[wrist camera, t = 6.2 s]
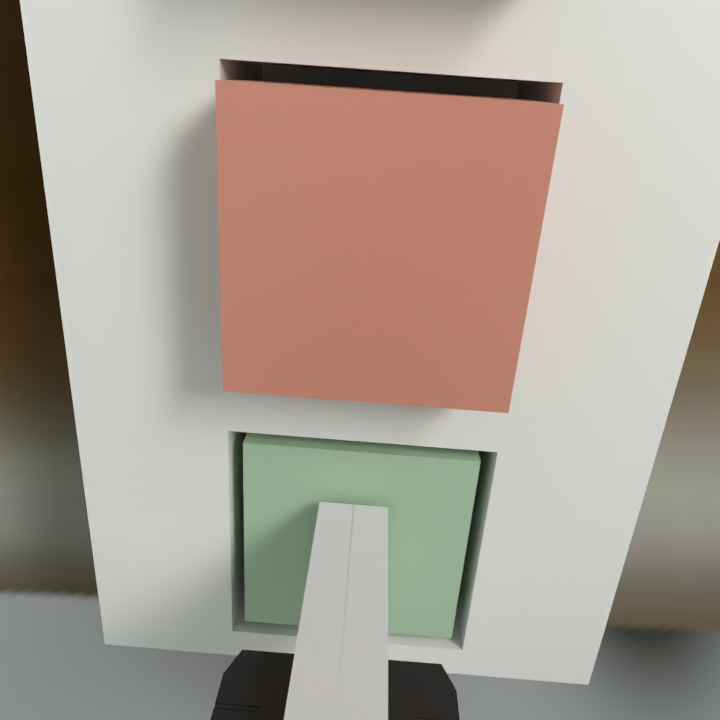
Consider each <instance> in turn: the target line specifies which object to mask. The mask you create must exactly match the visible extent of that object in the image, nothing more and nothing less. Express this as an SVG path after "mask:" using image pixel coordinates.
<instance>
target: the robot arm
mask: <svg viewBox="0 0 720 720" xmlns="http://www.w3.org/2000/svg"><path fill="white" fill-rule="evenodd" d="M211 720H459V712H458V702H457V693H456V690H455V688H454V686H453V684H452V682H451V680H450V679H449V677H448V675H447V673H446V671H445V669H444V668H443V666H442V664H435V663H423V662H410V661H398V660H388V507H381V506H368V505H355V504H343V503H330V502H319V508H318V514H317V520H316V526H315V532H314V538H313V545H312V551H311V557H310V563H309V569H308V575H307V581H306V587H305V593H304V599H303V605H302V611H301V617H300V623H299V630H298V636H297V642H296V648H295V654H291V653H279V652H267V651H254V650H241V652H240V653H239V654H238V656H237V657H236V658H235V660H234V661H233V662H232V663H231V665H230V666H229V667H228V669H227V670H226V671H225V672H224V674H223V677H222V681H221V685H220V688H219V692H218V696H217V699H216V703H215V708H214V710H213V713H212V717H211Z"/></svg>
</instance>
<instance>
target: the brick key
mask: <svg viewBox="0 0 720 720" xmlns="http://www.w3.org/2000/svg"><path fill="white" fill-rule="evenodd" d="M215 93H216V133H217V173H218V213H219V254H220V294H221V334H222V374H223V391H229V392H242V393H254V394H267V395H280V396H293V397H306V398H319V399H332V400H345V401H358V402H370V403H383V404H396V405H409V406H422V407H435V408H448V409H461V410H474V411H486V412H499V413H509V408H510V402H511V397H512V391H513V385H514V380H515V374H516V369H517V363H518V358H519V352H520V346H521V341H522V335H523V330H524V324H525V319H526V313H527V308H528V302H529V296H530V291H531V285H532V280H533V274H534V269H535V263H536V257H537V252H538V246H539V241H540V235H541V230H542V224H543V218H544V213H545V207H546V202H547V196H548V191H549V185H550V180H551V174H552V168H553V163H554V157H555V152H556V146H557V141H558V135H559V129H560V124H561V118H562V113H563V107H564V104H557V103H549V102H542V101H534V100H527V99H516V98H502V97H487V96H473V95H459V94H445V93H431V92H417V91H402V90H388V89H374V88H360V87H346V86H332V85H317V84H303V83H289V82H275V81H261V80H215Z"/></svg>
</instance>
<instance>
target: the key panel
mask: <svg viewBox="0 0 720 720" xmlns="http://www.w3.org/2000/svg"><path fill="white" fill-rule="evenodd" d="M20 7H21V14H22V22H23V29H24V37H25V44H26V52H27V60H28V67H29V75H30V82H31V90H32V97H33V105H34V113H35V120H36V128H37V135H38V143H39V150H40V158H41V166H42V173H43V181H44V188H45V196H46V203H47V211H48V219H49V226H50V234H51V241H52V249H53V256H54V264H55V272H56V279H57V287H58V294H59V302H60V309H61V317H62V325H63V332H64V340H65V347H66V355H67V362H68V370H69V378H70V385H71V393H72V400H73V408H74V415H75V423H76V430H77V438H78V446H79V453H80V461H81V468H82V476H83V483H84V491H85V499H86V506H87V514H88V521H89V529H90V536H91V544H92V552H93V559H94V567H95V574H96V582H97V589H98V597H99V605H100V611H101V620H102V626H103V634H104V642H105V645H118V646H129V647H142V648H154V649H166V650H177V651H191V652H201V653H213V654H225V655H237V656H238V654H239V653H240V652H241V650H254V651H267V652H279V653H291V654H295V648H296V642H297V636H298V630H299V625H287V624H275V623H263V622H251V621H245V585H244V496H243V442H244V439H245V437H246V434H247V433H260V434H273V435H285V436H298V437H311V438H324V439H336V440H349V441H362V442H375V443H387V444H400V445H413V446H426V447H438V448H451V449H464V450H477V451H478V452H479V457H480V461H481V463H480V469H479V475H478V481H477V487H476V493H475V499H474V505H473V511H472V517H471V523H470V530H469V536H468V542H467V548H466V554H465V560H464V566H463V572H462V578H461V584H460V590H459V596H458V602H457V608H456V614H455V620H454V626H453V632H452V638H444V637H432V636H420V635H408V634H396V633H388V660H398V661H410V662H423V663H435V664H442V666H443V668H444V669H445V671H446V673H453V674H465V675H477V676H489V677H501V678H513V679H524V680H536V681H549V682H561V683H572V684H585V685H588V684H589V681H590V678H591V674H592V671H593V668H594V664H595V661H596V658H597V654H598V651H599V647H600V644H601V640H602V637H603V634H604V630H605V627H606V624H607V620H608V617H609V613H610V610H611V607H612V603H613V600H614V596H615V593H616V590H617V586H618V583H619V579H620V576H621V573H622V569H623V566H624V562H625V559H626V556H627V552H628V549H629V545H630V542H631V539H632V535H633V532H634V529H635V525H636V522H637V518H638V515H639V512H640V508H641V505H642V501H643V498H644V495H645V491H646V488H647V484H648V481H649V478H650V474H651V471H652V467H653V464H654V461H655V457H656V454H657V450H658V447H659V444H660V440H661V437H662V433H663V430H664V427H665V423H666V420H667V417H668V413H669V410H670V406H671V403H672V400H673V396H674V393H675V389H676V386H677V383H678V379H679V376H680V372H681V369H682V366H683V362H684V359H685V355H686V352H687V349H688V345H689V342H690V338H691V335H692V332H693V328H694V325H695V321H696V318H697V315H698V311H699V308H700V304H701V301H702V298H703V294H704V291H705V288H706V284H707V281H708V277H709V274H710V271H711V267H712V264H713V260H714V257H715V254H716V250H717V247H718V243H719V240H720V0H20ZM215 80H261V81H275V82H289V83H303V84H317V85H332V86H346V87H360V88H374V89H388V90H402V91H417V92H431V93H445V94H459V95H473V96H487V97H502V98H516V99H527V100H534V101H542V102H549V103H557V104H564V107H563V113H562V118H561V124H560V129H559V135H558V141H557V146H556V152H555V157H554V163H553V168H552V174H551V180H550V185H549V191H548V196H547V202H546V207H545V213H544V218H543V224H542V230H541V235H540V241H539V246H538V252H537V257H536V263H535V269H534V274H533V280H532V285H531V291H530V296H529V302H528V308H527V313H526V319H525V324H524V330H523V335H522V341H521V346H520V352H519V358H518V363H517V369H516V374H515V380H514V385H513V391H512V397H511V402H510V408H509V413H499V412H486V411H474V410H461V409H448V408H435V407H422V406H409V405H396V404H383V403H370V402H358V401H345V400H332V399H319V398H306V397H293V396H280V395H267V394H254V393H242V392H229V391H223V374H222V334H221V294H220V254H219V213H218V173H217V133H216V93H215Z"/></svg>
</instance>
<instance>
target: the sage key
mask: <svg viewBox="0 0 720 720" xmlns="http://www.w3.org/2000/svg"><path fill="white" fill-rule="evenodd" d="M480 463H481V461H480V457H479V452H478V451H477V450H464V449H451V448H438V447H426V446H413V445H400V444H387V443H375V442H362V441H349V440H336V439H324V438H311V437H298V436H285V435H273V434H260V433H247V434H246V437H245V439H244V442H243V496H244V585H245V621H251V622H263V623H275V624H287V625H299V623H300V617H301V611H302V605H303V599H304V593H305V587H306V581H307V575H308V569H309V563H310V557H311V551H312V545H313V538H314V532H315V526H316V520H317V514H318V508H319V502H330V503H343V504H355V505H368V506H381V507H388V633H396V634H408V635H420V636H432V637H444V638H452V632H453V626H454V620H455V614H456V608H457V602H458V596H459V590H460V584H461V578H462V572H463V566H464V560H465V554H466V548H467V542H468V536H469V530H470V523H471V517H472V511H473V505H474V499H475V493H476V487H477V481H478V475H479V469H480Z"/></svg>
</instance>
